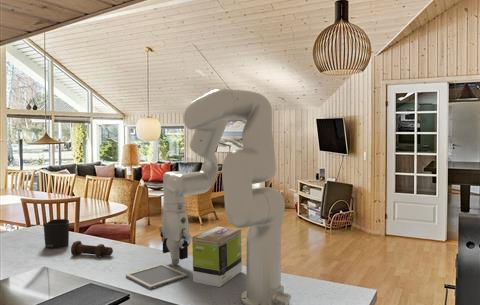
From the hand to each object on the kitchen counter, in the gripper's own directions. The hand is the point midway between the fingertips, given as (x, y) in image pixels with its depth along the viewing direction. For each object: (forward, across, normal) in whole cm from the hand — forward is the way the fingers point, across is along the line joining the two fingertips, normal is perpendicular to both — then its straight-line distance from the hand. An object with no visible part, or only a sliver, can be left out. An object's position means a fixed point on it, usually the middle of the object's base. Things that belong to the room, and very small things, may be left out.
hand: (175, 255), depth 140 cm
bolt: (+4, +31, +16) cm, 35 cm away
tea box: (+4, -19, -3) cm, 20 cm away
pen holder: (+4, +53, +20) cm, 57 cm away
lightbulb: (+4, 0, 0) cm, 4 cm away
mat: (+3, -5, +11) cm, 13 cm away
